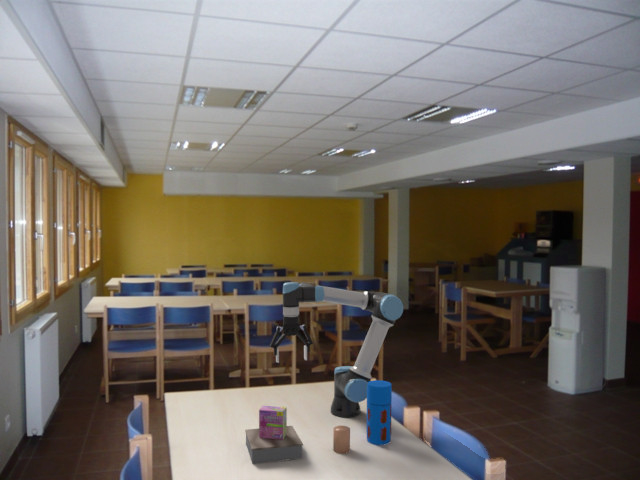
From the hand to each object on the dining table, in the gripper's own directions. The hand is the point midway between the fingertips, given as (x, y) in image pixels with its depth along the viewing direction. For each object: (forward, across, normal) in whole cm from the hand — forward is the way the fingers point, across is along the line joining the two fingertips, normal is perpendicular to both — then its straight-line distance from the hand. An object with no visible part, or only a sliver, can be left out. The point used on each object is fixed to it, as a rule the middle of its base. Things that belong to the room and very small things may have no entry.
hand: (291, 360), depth 244 cm
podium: (+31, +14, +24) cm, 42 cm away
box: (+25, +14, +24) cm, 38 cm away
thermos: (+32, -32, +26) cm, 52 cm away
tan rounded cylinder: (+31, -13, +31) cm, 46 cm away
